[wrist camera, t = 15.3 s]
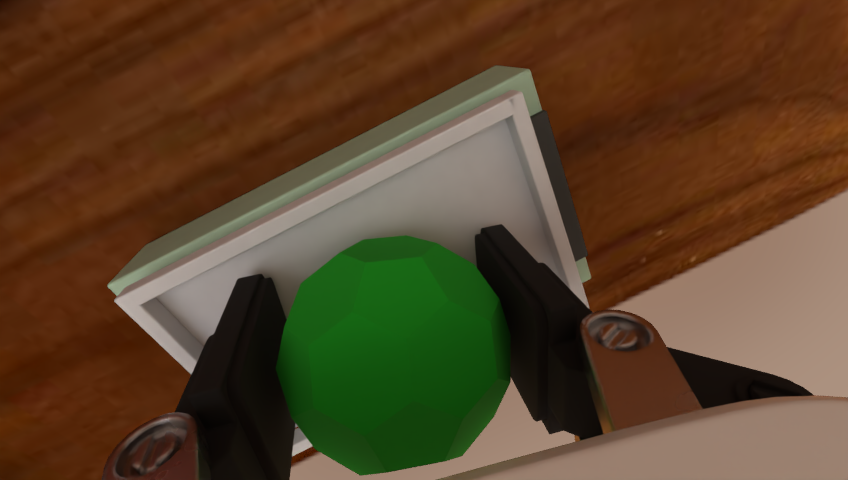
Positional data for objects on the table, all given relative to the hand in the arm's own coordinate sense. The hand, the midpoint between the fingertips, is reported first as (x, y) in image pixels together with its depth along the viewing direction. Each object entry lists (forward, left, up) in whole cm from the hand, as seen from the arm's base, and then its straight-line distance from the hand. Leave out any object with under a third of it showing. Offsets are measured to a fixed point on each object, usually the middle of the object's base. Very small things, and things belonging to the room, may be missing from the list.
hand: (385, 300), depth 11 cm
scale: (0, 0, -3) cm, 3 cm away
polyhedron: (0, 0, -1) cm, 1 cm away
